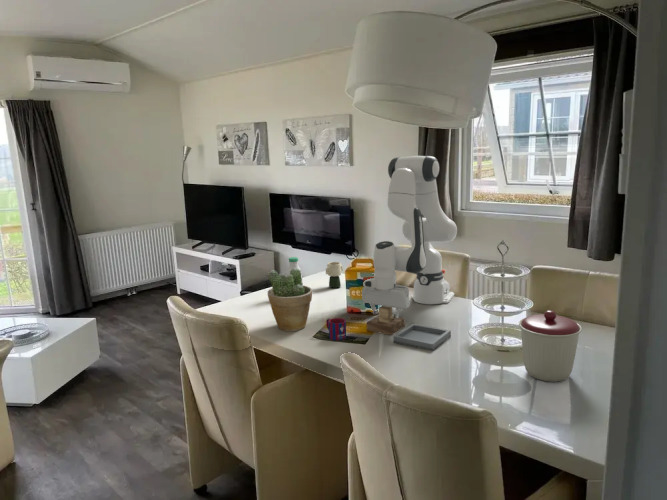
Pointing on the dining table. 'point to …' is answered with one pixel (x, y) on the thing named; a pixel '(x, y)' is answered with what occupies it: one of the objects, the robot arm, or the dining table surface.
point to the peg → (385, 314)
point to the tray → (422, 336)
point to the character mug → (334, 273)
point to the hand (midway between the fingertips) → (385, 316)
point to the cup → (336, 328)
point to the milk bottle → (293, 265)
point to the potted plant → (289, 300)
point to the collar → (386, 325)
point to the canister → (549, 345)
